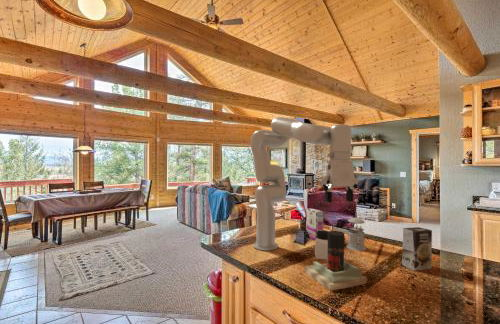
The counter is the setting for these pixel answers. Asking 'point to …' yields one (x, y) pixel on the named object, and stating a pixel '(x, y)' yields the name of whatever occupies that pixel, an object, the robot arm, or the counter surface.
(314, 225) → the candy bar box
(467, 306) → the counter surface
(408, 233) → the coffee box
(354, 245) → the french press
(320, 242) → the medicine bottle
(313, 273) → the dock
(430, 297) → the counter surface
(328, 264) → the deodorant
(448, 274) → the counter surface
